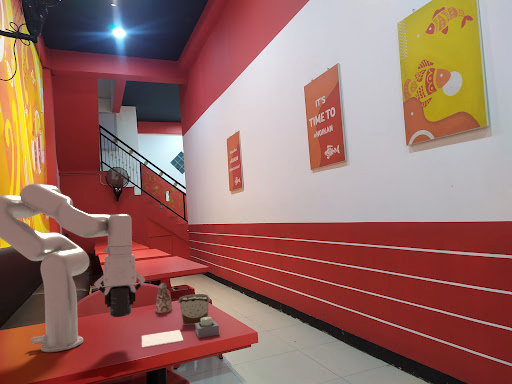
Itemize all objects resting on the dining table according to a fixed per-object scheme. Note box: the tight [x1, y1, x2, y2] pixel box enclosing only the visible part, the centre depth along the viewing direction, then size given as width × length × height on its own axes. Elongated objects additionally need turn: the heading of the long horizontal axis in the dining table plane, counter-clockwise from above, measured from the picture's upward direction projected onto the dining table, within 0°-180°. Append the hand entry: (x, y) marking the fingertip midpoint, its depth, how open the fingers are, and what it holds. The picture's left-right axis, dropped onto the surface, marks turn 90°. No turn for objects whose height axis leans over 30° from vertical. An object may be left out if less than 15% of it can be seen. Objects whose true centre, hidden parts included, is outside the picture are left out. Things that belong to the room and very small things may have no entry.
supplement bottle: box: [109, 286, 132, 318], centre depth 120 cm, size 7×7×12 cm
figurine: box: [155, 281, 173, 314], centre depth 161 cm, size 7×7×12 cm
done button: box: [200, 316, 213, 327], centre depth 125 cm, size 4×4×3 cm
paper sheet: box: [141, 329, 184, 349], centre depth 122 cm, size 13×12×1 cm
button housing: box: [194, 319, 220, 339], centre depth 124 cm, size 7×7×3 cm
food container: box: [177, 293, 211, 326], centre depth 140 cm, size 12×6×10 cm, turn 84°
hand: (120, 304), depth 120 cm, fingers closed on supplement bottle, 6 cm apart
